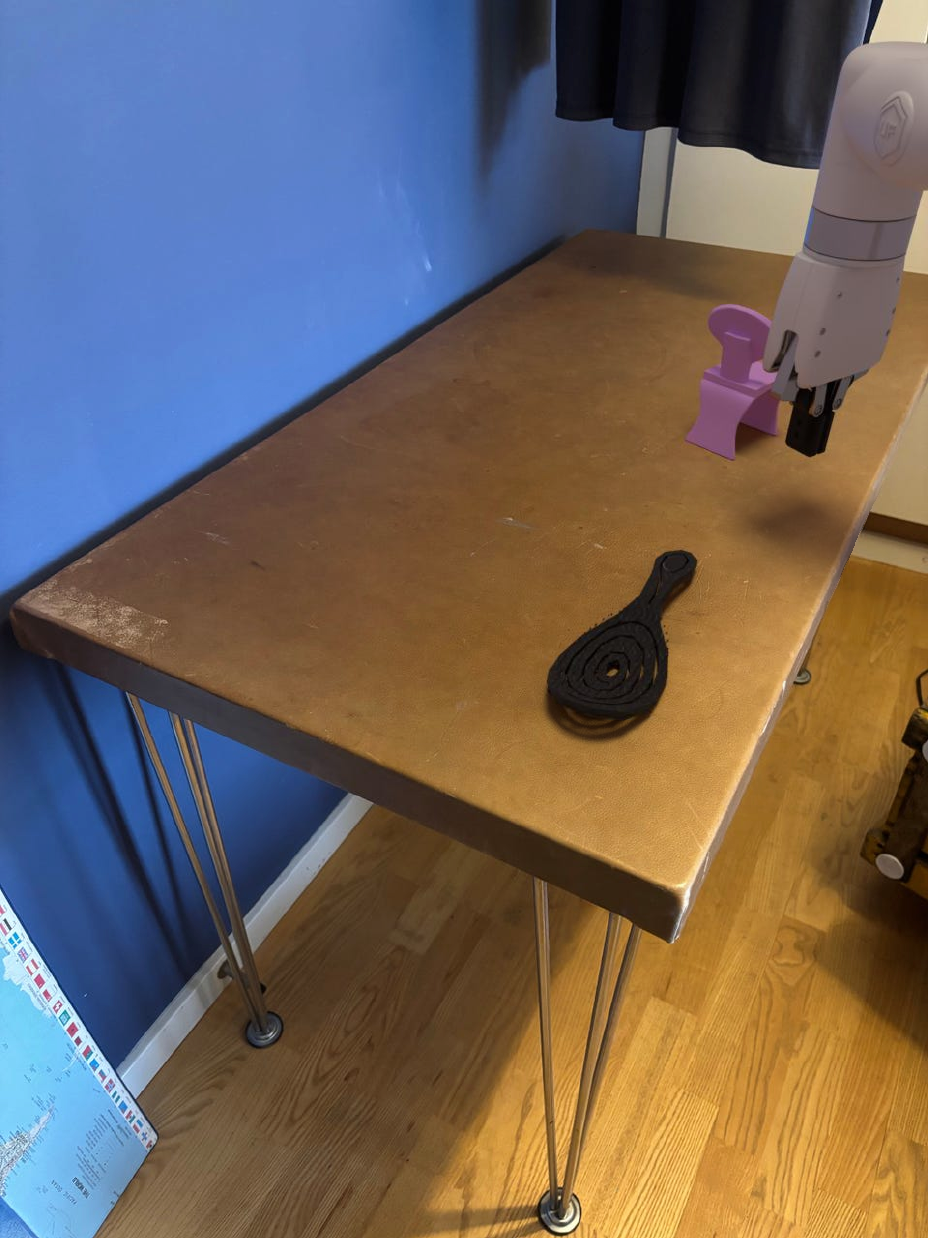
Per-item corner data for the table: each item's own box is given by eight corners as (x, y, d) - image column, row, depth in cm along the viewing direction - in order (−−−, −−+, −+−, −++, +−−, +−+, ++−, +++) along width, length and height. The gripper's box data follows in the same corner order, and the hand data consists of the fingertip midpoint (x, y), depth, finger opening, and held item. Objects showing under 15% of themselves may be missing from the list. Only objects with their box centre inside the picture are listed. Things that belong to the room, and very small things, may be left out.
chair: (787, 436, 100) (820, 300, 90) (741, 463, 95) (770, 323, 86) (724, 411, 105) (749, 279, 95) (676, 436, 100) (697, 300, 91)
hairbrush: (736, 544, 79) (635, 714, 61) (728, 579, 81) (628, 754, 63) (645, 519, 82) (524, 675, 64) (639, 554, 84) (521, 714, 66)
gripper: (882, 208, 75) (829, 413, 87) (750, 237, 69) (711, 453, 81) (963, 230, 70) (895, 444, 82) (827, 263, 64) (775, 490, 76)
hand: (804, 448), depth 81 cm, fingers closed
